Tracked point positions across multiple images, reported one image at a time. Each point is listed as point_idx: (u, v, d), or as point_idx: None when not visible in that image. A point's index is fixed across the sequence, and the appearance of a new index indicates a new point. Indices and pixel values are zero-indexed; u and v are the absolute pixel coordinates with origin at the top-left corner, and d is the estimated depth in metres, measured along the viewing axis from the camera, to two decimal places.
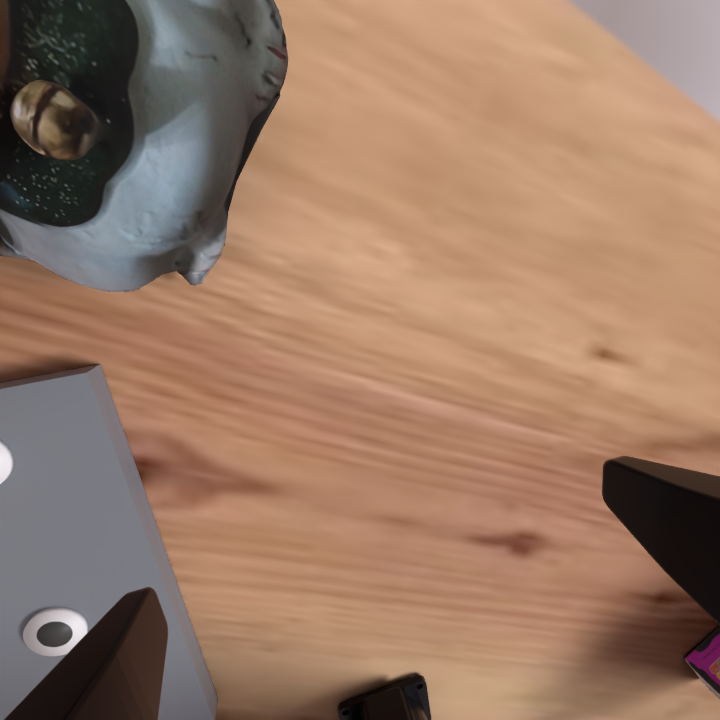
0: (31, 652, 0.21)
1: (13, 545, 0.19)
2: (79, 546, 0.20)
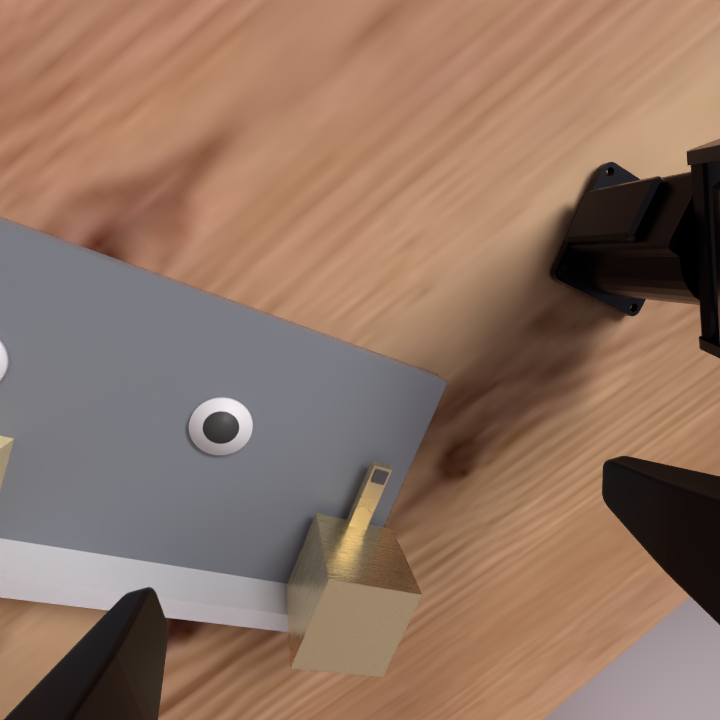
0: (231, 459, 0.19)
1: (94, 394, 0.17)
2: (136, 346, 0.17)
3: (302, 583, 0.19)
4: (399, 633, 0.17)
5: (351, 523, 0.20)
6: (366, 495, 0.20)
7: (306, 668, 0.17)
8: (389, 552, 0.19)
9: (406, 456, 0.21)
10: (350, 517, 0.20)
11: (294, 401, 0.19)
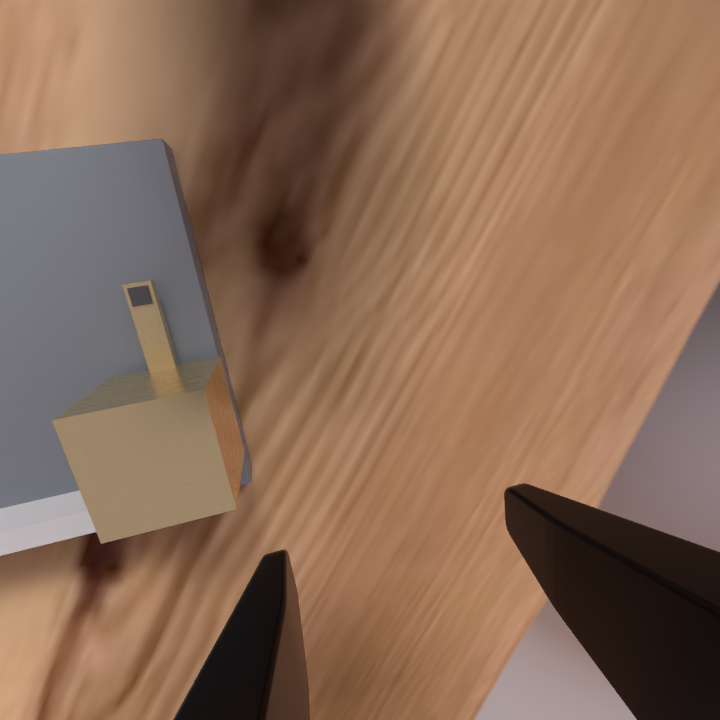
0: None
1: None
2: None
3: None
4: (213, 449, 0.13)
5: (150, 368, 0.16)
6: (143, 326, 0.15)
7: (121, 536, 0.13)
8: (191, 373, 0.15)
9: (181, 262, 0.16)
10: (149, 363, 0.16)
11: None
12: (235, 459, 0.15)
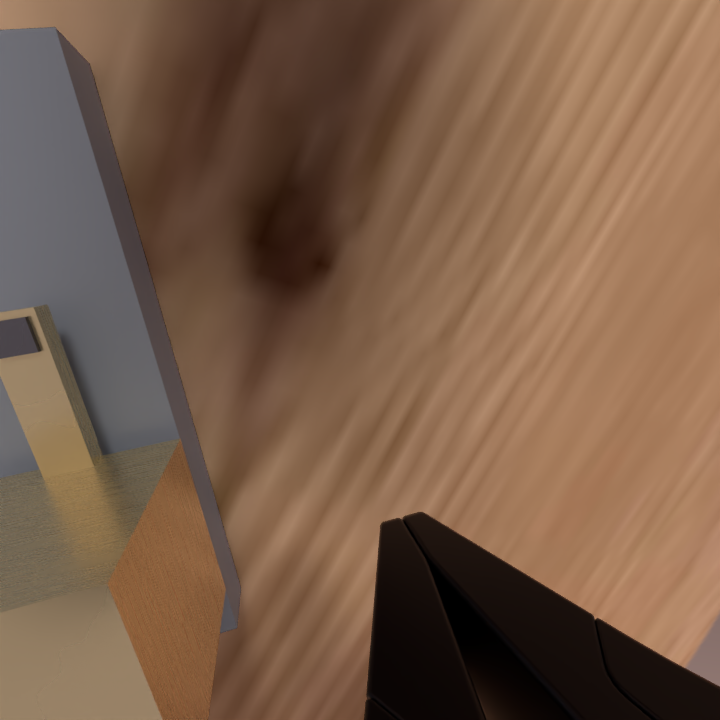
0: None
1: None
2: None
3: None
4: (138, 702, 0.06)
5: (45, 470, 0.08)
6: (24, 395, 0.08)
7: None
8: (110, 494, 0.07)
9: (106, 270, 0.09)
10: (43, 459, 0.09)
11: None
12: (202, 648, 0.08)
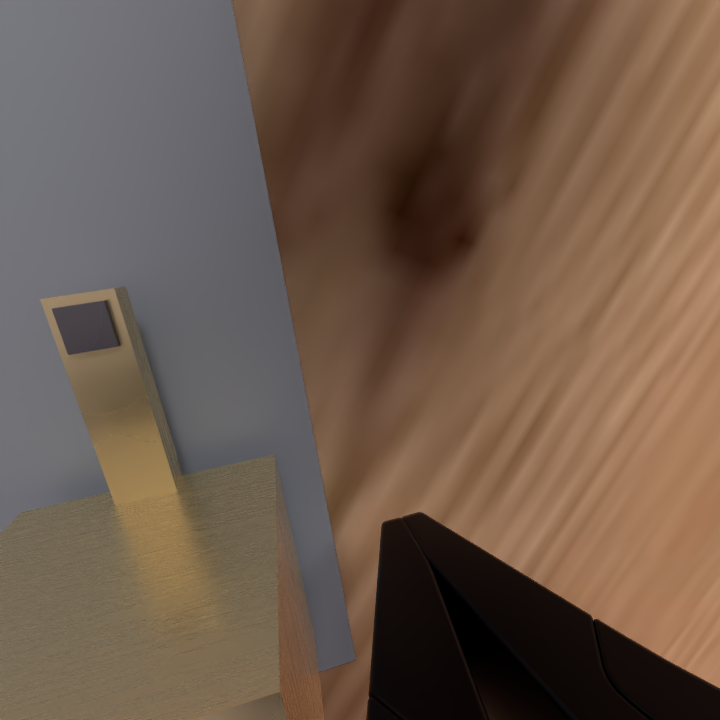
0: None
1: None
2: None
3: None
4: None
5: (117, 495, 0.07)
6: (97, 401, 0.06)
7: None
8: (217, 533, 0.06)
9: (250, 238, 0.07)
10: (113, 482, 0.07)
11: None
12: None
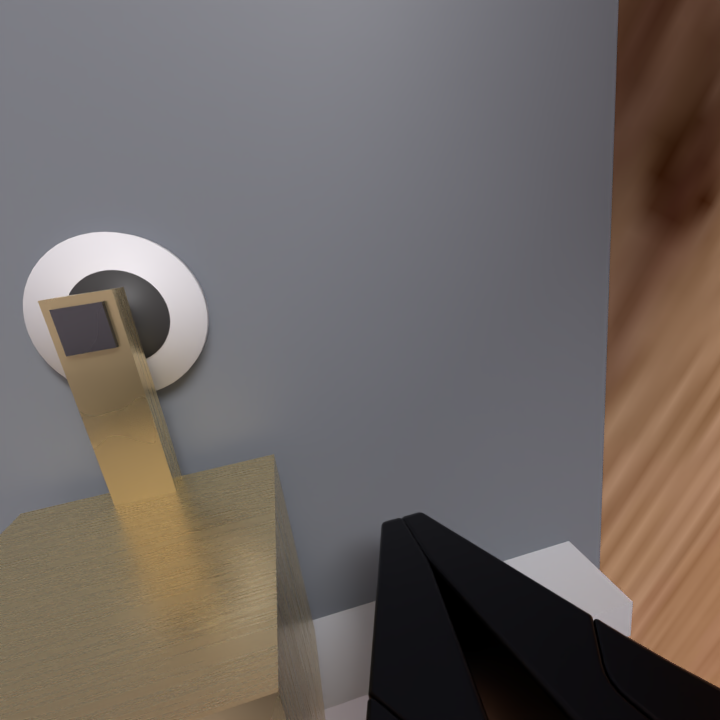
0: (205, 387, 0.08)
1: None
2: None
3: None
4: None
5: (117, 496, 0.07)
6: (95, 402, 0.06)
7: None
8: (217, 533, 0.06)
9: (593, 189, 0.08)
10: (113, 483, 0.07)
11: (261, 167, 0.07)
12: None
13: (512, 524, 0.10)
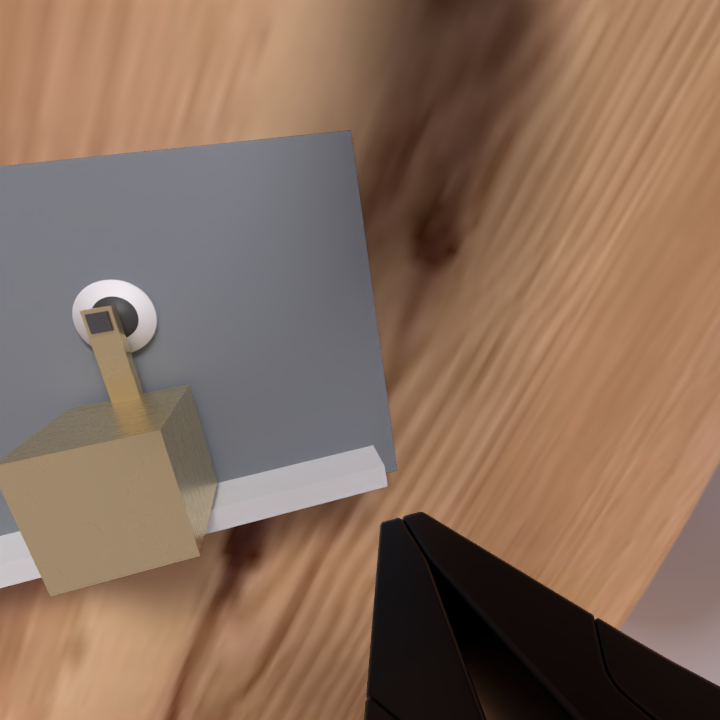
0: (157, 351, 0.16)
1: None
2: None
3: None
4: (172, 493, 0.12)
5: (113, 399, 0.15)
6: (103, 355, 0.14)
7: (73, 588, 0.12)
8: (153, 406, 0.14)
9: (356, 252, 0.16)
10: (111, 393, 0.15)
11: (180, 248, 0.15)
12: (202, 497, 0.14)
13: (335, 433, 0.18)
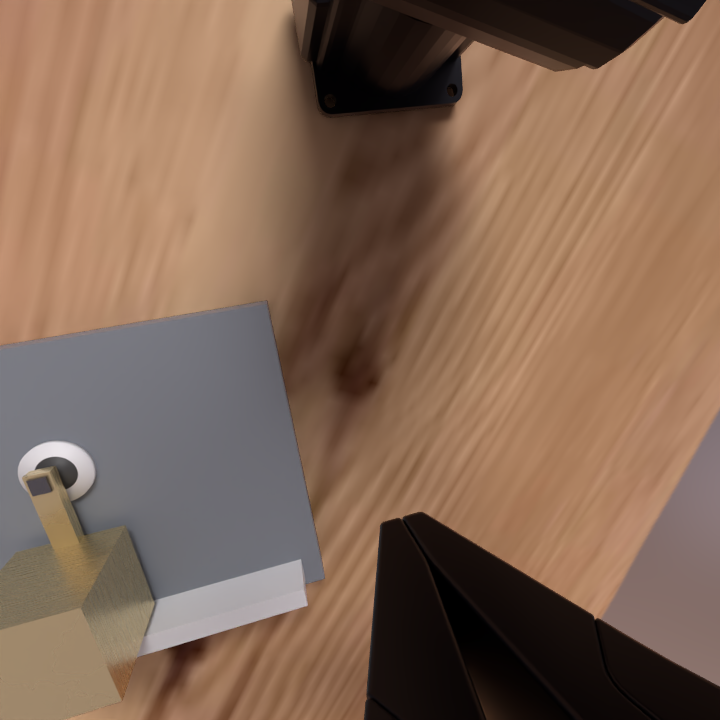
0: (97, 495, 0.18)
1: None
2: None
3: None
4: (94, 655, 0.14)
5: (54, 545, 0.17)
6: (44, 511, 0.16)
7: None
8: (86, 562, 0.16)
9: (277, 401, 0.18)
10: (53, 539, 0.17)
11: (114, 411, 0.17)
12: (132, 635, 0.16)
13: (264, 551, 0.20)
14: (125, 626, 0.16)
